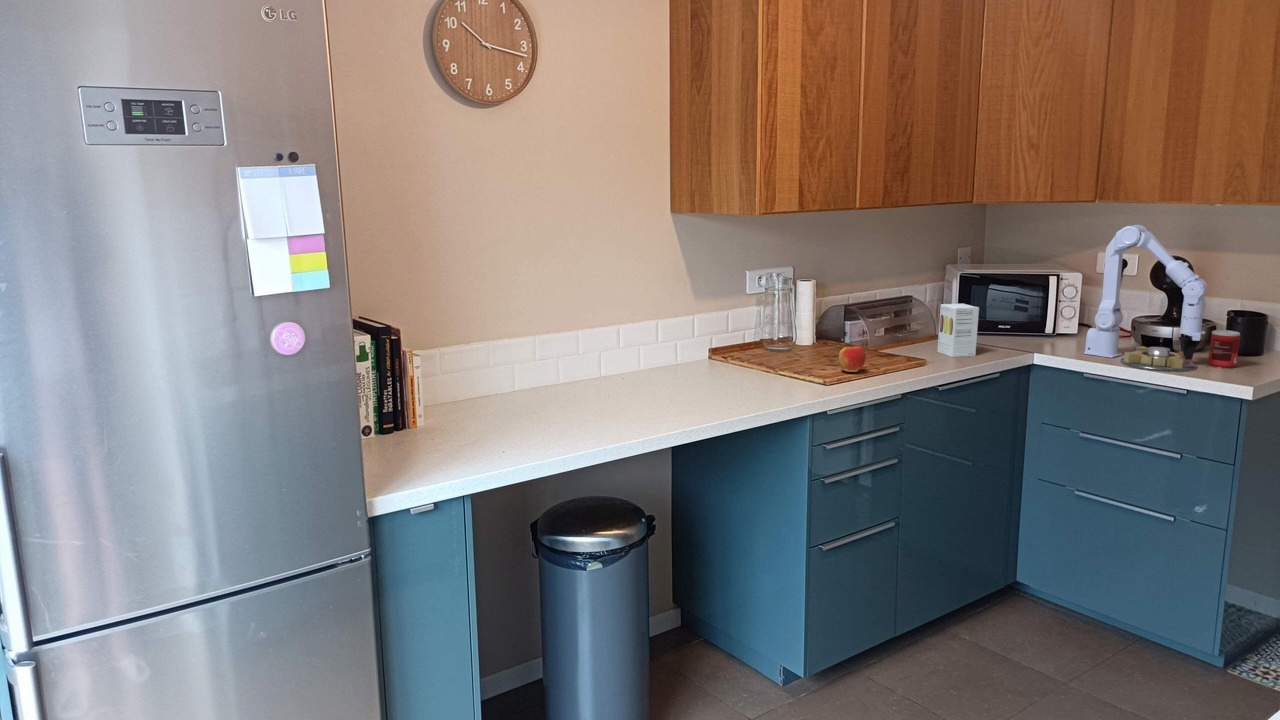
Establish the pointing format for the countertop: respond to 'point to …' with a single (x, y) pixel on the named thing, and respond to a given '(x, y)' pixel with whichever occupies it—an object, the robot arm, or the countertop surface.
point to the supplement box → (958, 330)
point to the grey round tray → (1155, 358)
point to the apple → (852, 358)
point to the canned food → (1224, 348)
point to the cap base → (1160, 353)
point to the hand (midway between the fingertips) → (1187, 359)
